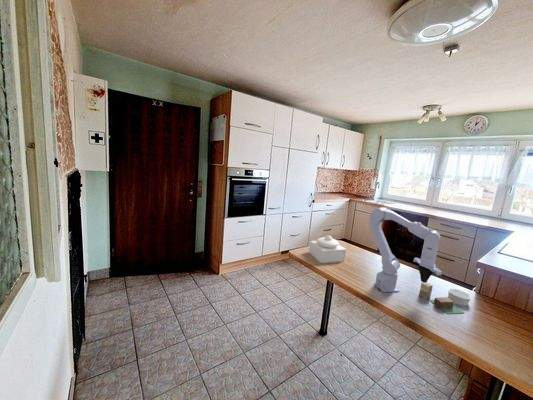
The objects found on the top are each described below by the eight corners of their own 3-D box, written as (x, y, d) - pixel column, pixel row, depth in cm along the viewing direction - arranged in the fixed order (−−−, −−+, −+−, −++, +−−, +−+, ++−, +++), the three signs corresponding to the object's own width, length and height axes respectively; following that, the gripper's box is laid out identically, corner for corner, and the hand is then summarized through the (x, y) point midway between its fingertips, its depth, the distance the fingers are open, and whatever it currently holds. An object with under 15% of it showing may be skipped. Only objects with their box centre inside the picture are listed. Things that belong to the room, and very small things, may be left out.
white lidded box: (308, 252, 166) (310, 231, 163) (330, 251, 171) (333, 230, 168) (320, 263, 150) (323, 240, 147) (344, 261, 155) (347, 239, 152)
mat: (447, 313, 106) (447, 313, 106) (429, 300, 116) (429, 300, 115) (464, 313, 107) (464, 312, 107) (444, 300, 117) (445, 299, 117)
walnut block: (441, 302, 108) (454, 301, 109) (434, 297, 112) (447, 297, 113) (439, 308, 109) (452, 308, 110) (433, 304, 112) (445, 303, 113)
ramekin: (456, 295, 122) (458, 288, 121) (474, 306, 113) (476, 298, 113) (442, 296, 120) (444, 288, 120) (459, 307, 112) (460, 299, 111)
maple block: (425, 299, 117) (428, 286, 115) (418, 295, 120) (421, 282, 119) (430, 297, 118) (432, 285, 117) (423, 294, 121) (425, 281, 120)
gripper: (449, 262, 104) (443, 289, 107) (424, 249, 118) (419, 274, 121) (436, 262, 103) (430, 290, 106) (411, 249, 117) (407, 274, 120)
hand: (423, 281), depth 113 cm, fingers closed
